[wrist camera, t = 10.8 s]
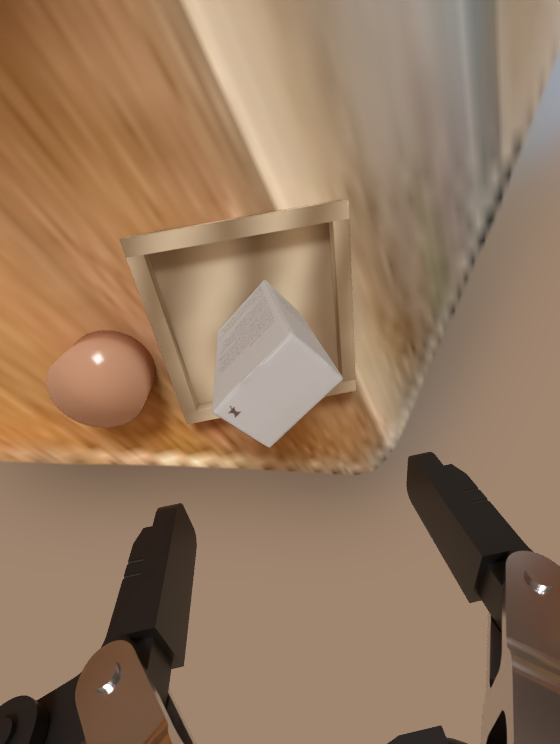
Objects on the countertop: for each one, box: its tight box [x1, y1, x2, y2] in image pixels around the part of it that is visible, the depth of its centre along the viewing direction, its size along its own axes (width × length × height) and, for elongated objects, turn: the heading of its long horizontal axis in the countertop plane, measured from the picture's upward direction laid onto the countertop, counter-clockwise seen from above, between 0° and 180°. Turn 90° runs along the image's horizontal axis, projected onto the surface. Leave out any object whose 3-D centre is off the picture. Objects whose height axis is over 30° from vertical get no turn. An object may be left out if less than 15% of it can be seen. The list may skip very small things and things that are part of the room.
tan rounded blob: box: [47, 331, 156, 428], centre depth 26 cm, size 7×7×4 cm
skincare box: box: [212, 280, 343, 448], centre depth 22 cm, size 6×4×12 cm
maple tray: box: [120, 200, 356, 424], centre depth 27 cm, size 16×16×2 cm
